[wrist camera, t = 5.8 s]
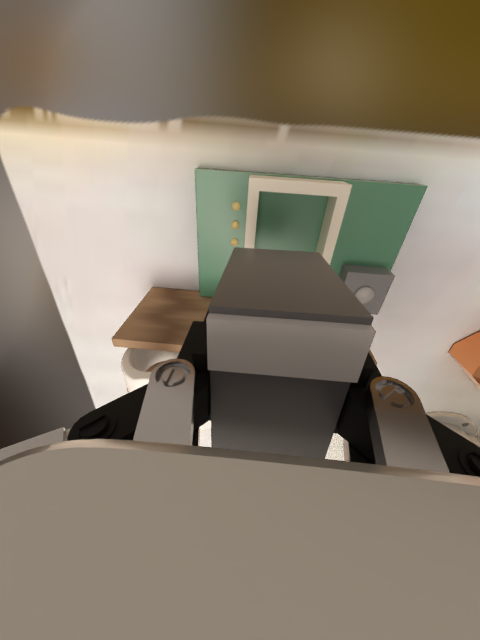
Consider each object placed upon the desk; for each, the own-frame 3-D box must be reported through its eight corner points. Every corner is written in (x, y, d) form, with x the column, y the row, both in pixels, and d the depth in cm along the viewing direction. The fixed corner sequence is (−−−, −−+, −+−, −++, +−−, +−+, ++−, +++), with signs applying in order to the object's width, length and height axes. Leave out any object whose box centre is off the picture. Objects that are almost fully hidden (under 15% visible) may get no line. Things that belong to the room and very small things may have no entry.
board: (419, 184, 20) (446, 190, 17) (368, 304, 26) (382, 324, 23) (197, 168, 20) (187, 171, 17) (202, 290, 27) (194, 307, 24)
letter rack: (345, 303, 27) (377, 363, 19) (328, 351, 30) (349, 415, 23) (152, 287, 27) (111, 338, 20) (160, 335, 31) (128, 393, 24)
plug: (319, 252, 12) (378, 324, 6) (297, 362, 15) (320, 482, 9) (234, 247, 12) (206, 311, 6) (231, 357, 15) (210, 471, 9)
